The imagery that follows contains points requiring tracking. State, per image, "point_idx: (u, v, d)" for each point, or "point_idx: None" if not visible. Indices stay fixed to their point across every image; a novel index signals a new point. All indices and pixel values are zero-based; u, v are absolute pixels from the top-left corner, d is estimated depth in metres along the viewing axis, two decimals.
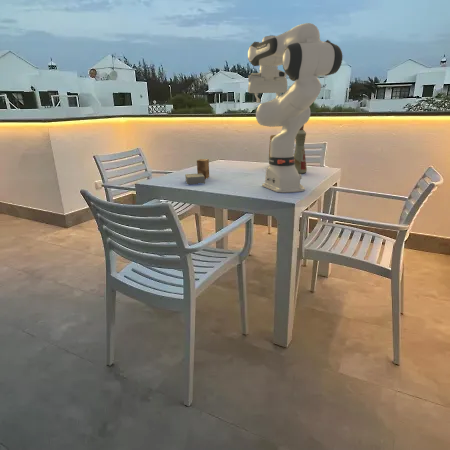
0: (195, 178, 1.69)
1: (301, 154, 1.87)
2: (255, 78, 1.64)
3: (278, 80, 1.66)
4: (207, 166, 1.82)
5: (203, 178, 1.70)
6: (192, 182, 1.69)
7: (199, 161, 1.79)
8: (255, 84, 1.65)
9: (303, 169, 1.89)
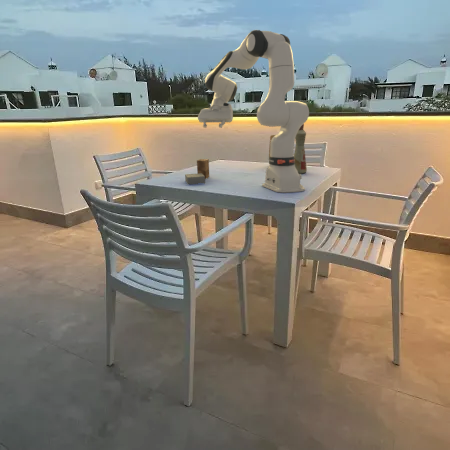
0: (195, 178, 1.69)
1: (301, 154, 1.87)
2: (204, 109, 1.91)
3: (223, 110, 1.87)
4: (207, 166, 1.82)
5: (203, 178, 1.70)
6: (192, 182, 1.69)
7: (199, 161, 1.79)
8: (203, 113, 1.90)
9: (303, 169, 1.89)
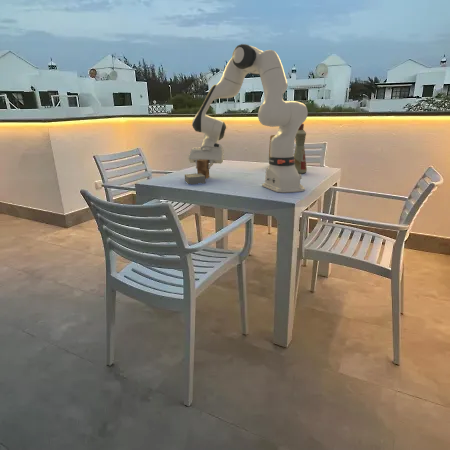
0: (196, 178, 1.69)
1: (301, 154, 1.87)
2: (195, 149, 1.87)
3: (214, 150, 1.83)
4: None
5: (204, 178, 1.70)
6: (193, 182, 1.69)
7: (199, 161, 1.79)
8: (193, 153, 1.86)
9: (303, 169, 1.89)
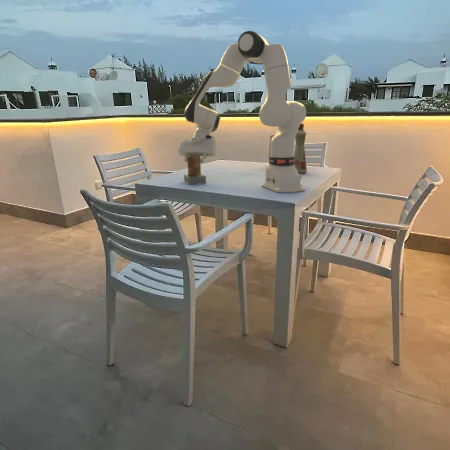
0: (197, 178, 1.69)
1: (301, 154, 1.87)
2: (185, 141, 1.75)
3: (205, 142, 1.71)
4: (198, 162, 1.70)
5: (204, 178, 1.71)
6: (194, 182, 1.69)
7: (190, 157, 1.68)
8: (184, 145, 1.74)
9: (303, 169, 1.89)
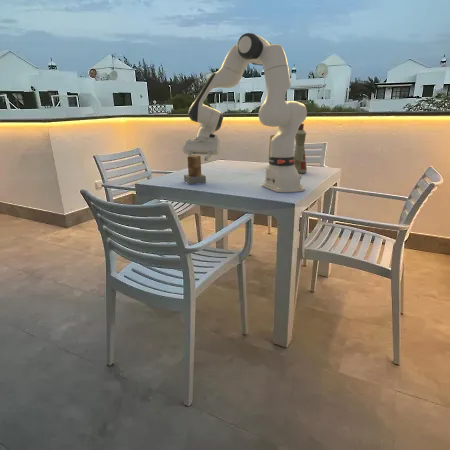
0: (197, 178, 1.69)
1: (301, 154, 1.87)
2: (189, 140, 1.80)
3: (209, 141, 1.76)
4: (199, 162, 1.70)
5: (204, 178, 1.71)
6: (194, 182, 1.69)
7: (190, 157, 1.68)
8: (188, 144, 1.79)
9: (303, 169, 1.89)
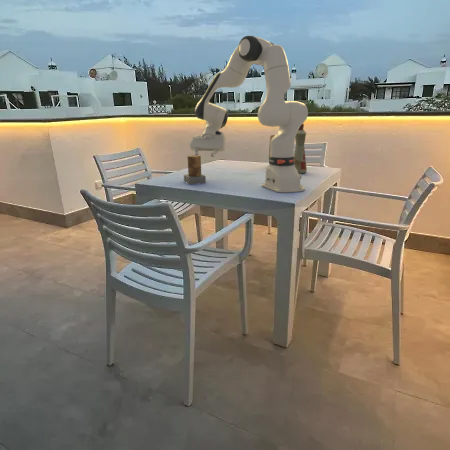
0: (196, 178, 1.69)
1: (301, 154, 1.87)
2: (196, 137, 1.87)
3: (215, 138, 1.82)
4: (199, 162, 1.70)
5: (204, 178, 1.71)
6: (193, 182, 1.69)
7: (190, 157, 1.68)
8: (195, 141, 1.86)
9: (303, 169, 1.89)
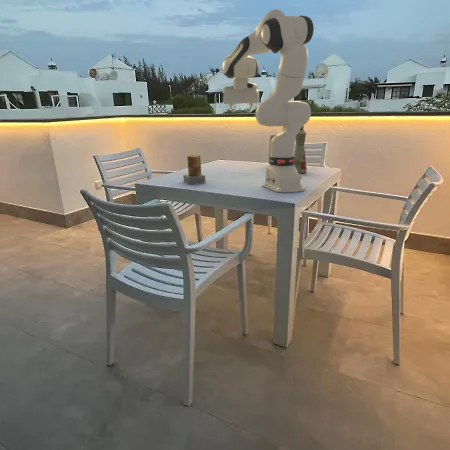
0: (196, 178, 1.70)
1: (301, 154, 1.87)
2: (227, 90, 1.82)
3: (248, 91, 1.78)
4: (199, 162, 1.71)
5: (204, 178, 1.71)
6: (193, 182, 1.70)
7: (190, 157, 1.68)
8: (228, 95, 1.83)
9: (303, 169, 1.89)
